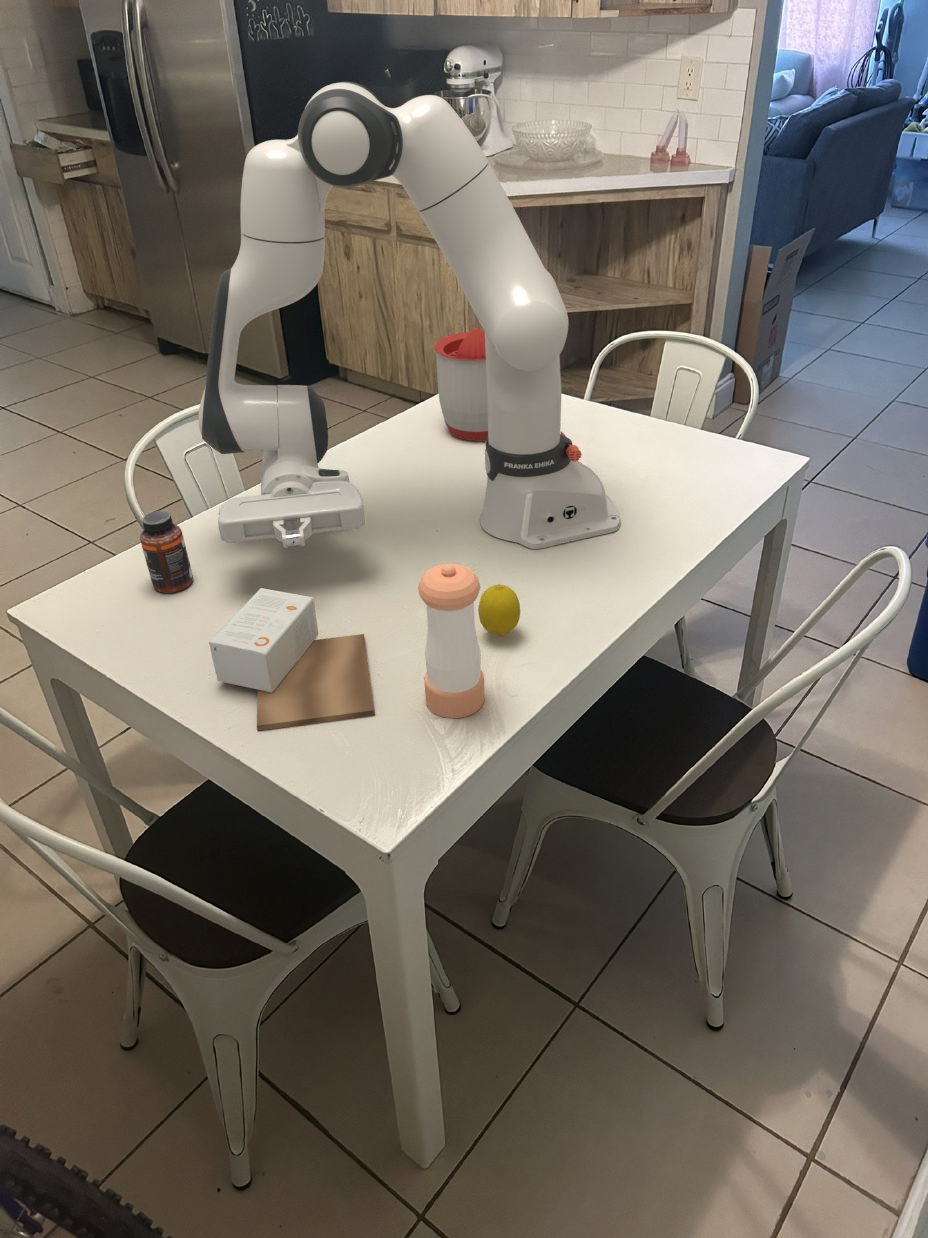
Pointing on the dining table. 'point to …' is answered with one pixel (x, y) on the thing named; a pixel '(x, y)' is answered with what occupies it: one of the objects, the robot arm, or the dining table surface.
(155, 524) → the supplement bottle
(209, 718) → the dining table surface
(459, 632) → the pepper shaker
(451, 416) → the citrus juicer
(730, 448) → the dining table surface
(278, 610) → the small box
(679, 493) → the dining table surface
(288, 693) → the walnut board
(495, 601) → the lemon
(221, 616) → the dining table surface
